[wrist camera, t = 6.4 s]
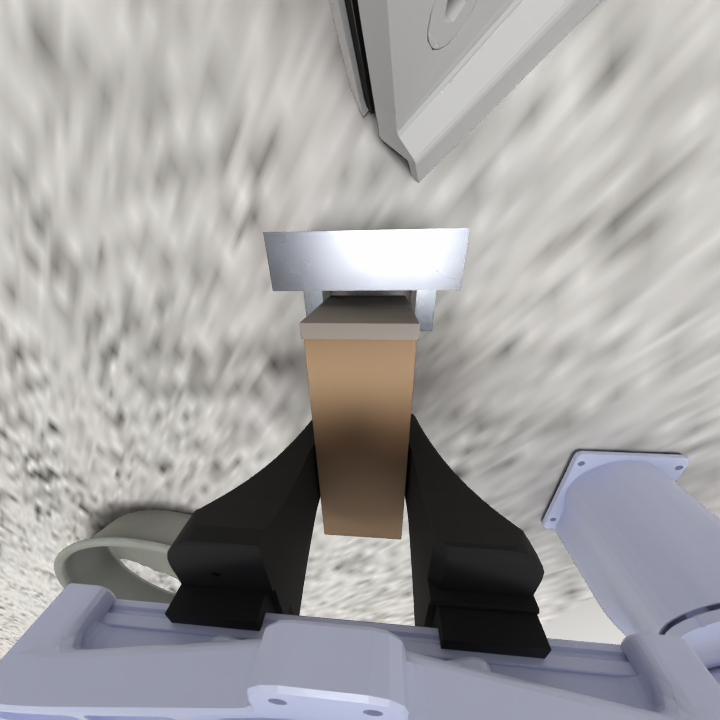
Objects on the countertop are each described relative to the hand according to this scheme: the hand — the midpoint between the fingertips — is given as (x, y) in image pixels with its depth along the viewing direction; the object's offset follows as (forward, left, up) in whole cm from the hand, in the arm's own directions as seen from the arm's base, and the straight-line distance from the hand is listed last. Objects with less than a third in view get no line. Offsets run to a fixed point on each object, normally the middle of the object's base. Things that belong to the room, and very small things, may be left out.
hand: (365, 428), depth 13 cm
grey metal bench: (+7, 0, -6) cm, 9 cm away
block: (+1, 0, -2) cm, 2 cm away
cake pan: (-29, +23, -7) cm, 37 cm away
